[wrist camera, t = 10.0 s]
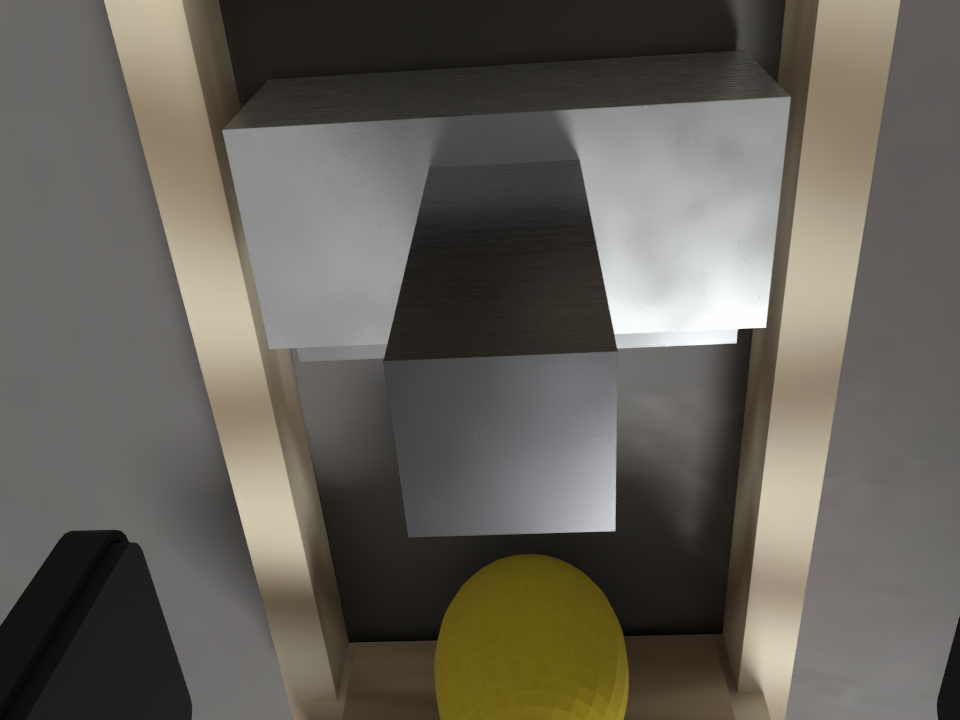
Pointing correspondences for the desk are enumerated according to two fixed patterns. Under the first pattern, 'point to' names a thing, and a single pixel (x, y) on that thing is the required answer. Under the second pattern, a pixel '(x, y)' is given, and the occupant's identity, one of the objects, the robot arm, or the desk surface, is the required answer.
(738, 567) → the press frame
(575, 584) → the lemon
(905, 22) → the desk surface
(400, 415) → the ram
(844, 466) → the desk surface
